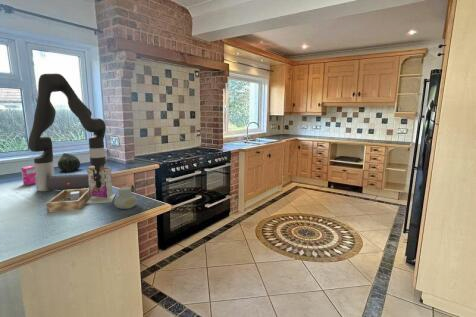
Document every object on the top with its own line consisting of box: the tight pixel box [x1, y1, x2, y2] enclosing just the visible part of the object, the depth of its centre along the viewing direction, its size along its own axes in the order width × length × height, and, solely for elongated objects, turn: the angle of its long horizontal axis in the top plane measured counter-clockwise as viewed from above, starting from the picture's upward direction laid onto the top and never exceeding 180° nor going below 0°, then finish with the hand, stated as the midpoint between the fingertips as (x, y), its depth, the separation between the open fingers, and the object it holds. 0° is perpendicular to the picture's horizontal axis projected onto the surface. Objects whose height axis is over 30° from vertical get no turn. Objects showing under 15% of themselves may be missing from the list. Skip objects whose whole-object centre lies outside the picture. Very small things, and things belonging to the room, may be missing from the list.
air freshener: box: [113, 186, 138, 210], centre depth 134 cm, size 11×8×10 cm
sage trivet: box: [86, 193, 116, 205], centre depth 145 cm, size 12×12×1 cm
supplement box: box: [20, 165, 36, 186], centre depth 173 cm, size 6×6×12 cm
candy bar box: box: [86, 165, 114, 198], centre depth 144 cm, size 11×5×16 cm, turn 79°
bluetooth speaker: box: [47, 173, 89, 192], centre depth 160 cm, size 23×9×10 cm, turn 106°
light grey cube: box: [69, 191, 80, 201], centre depth 145 cm, size 4×4×4 cm
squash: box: [57, 152, 81, 173], centre depth 212 cm, size 14×15×15 cm
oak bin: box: [45, 188, 92, 213], centre depth 139 cm, size 14×22×4 cm, turn 14°
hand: (100, 185), depth 144 cm, fingers closed on candy bar box, 6 cm apart
